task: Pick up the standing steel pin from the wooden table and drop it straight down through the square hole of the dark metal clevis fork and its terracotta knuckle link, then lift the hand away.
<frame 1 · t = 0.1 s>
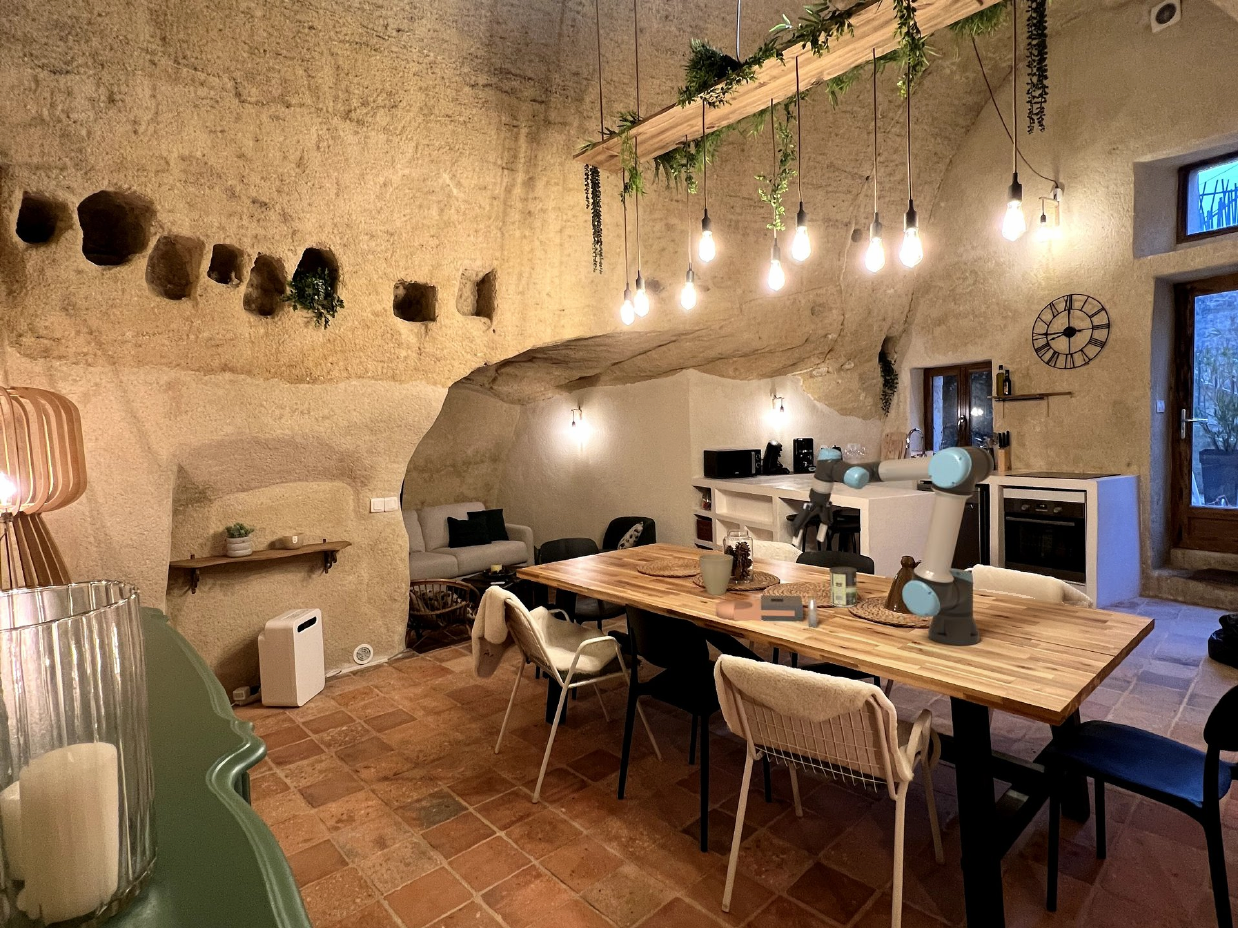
hand: (807, 542, 259), 28 cm above the table, tool tilted 20°, fingers open, 13 cm apart
knuckle link: (777, 615, 261), on the table
clevis fork: (781, 608, 261), in the knuckle link
coffee can: (843, 604, 275), on the table
steel pin: (812, 626, 246), on the table
plant pot: (716, 593, 300), on the table
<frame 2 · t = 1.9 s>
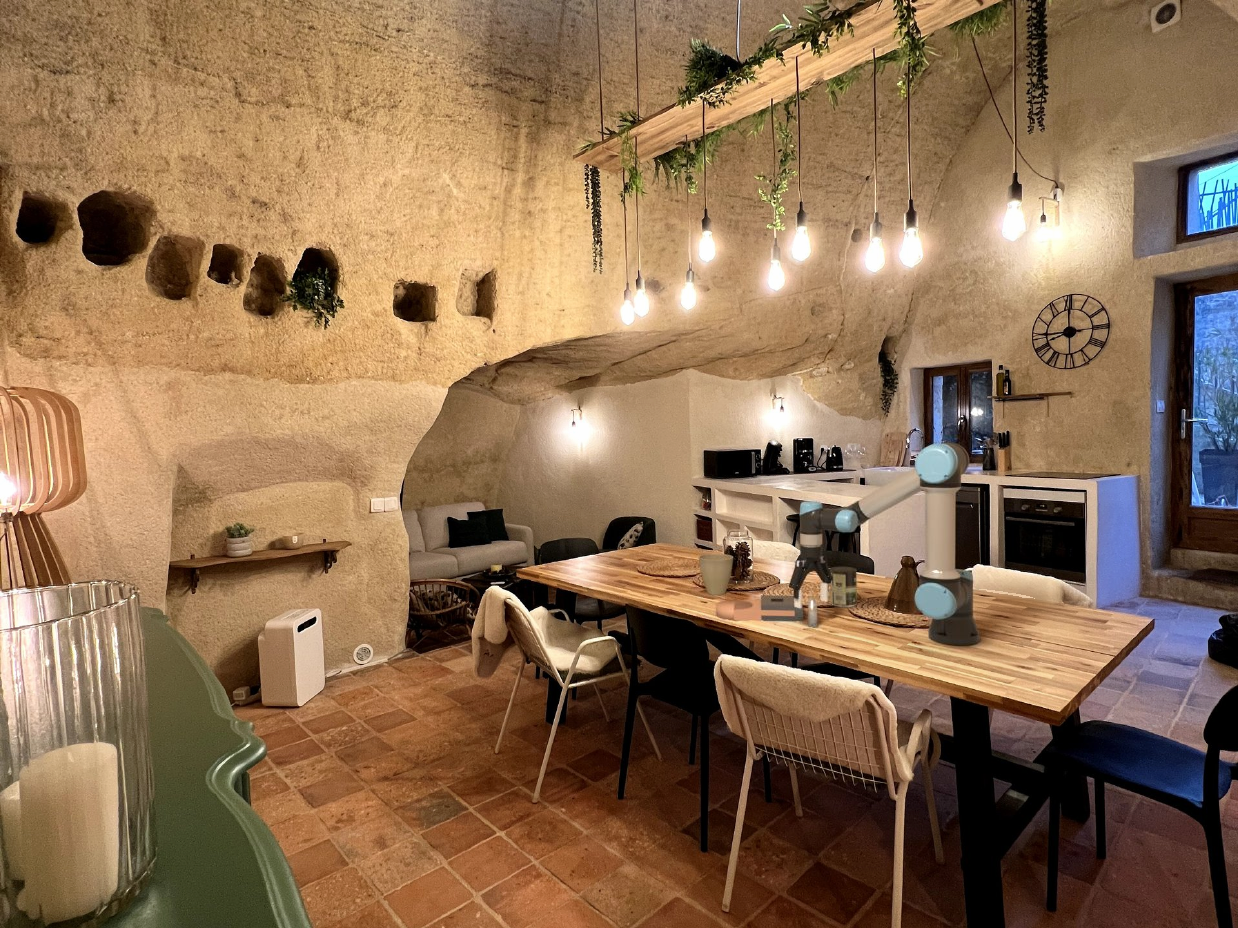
hand: (811, 604, 246), 8 cm above the table, tool pointing down, fingers open, 13 cm apart
nothing on the table moved.
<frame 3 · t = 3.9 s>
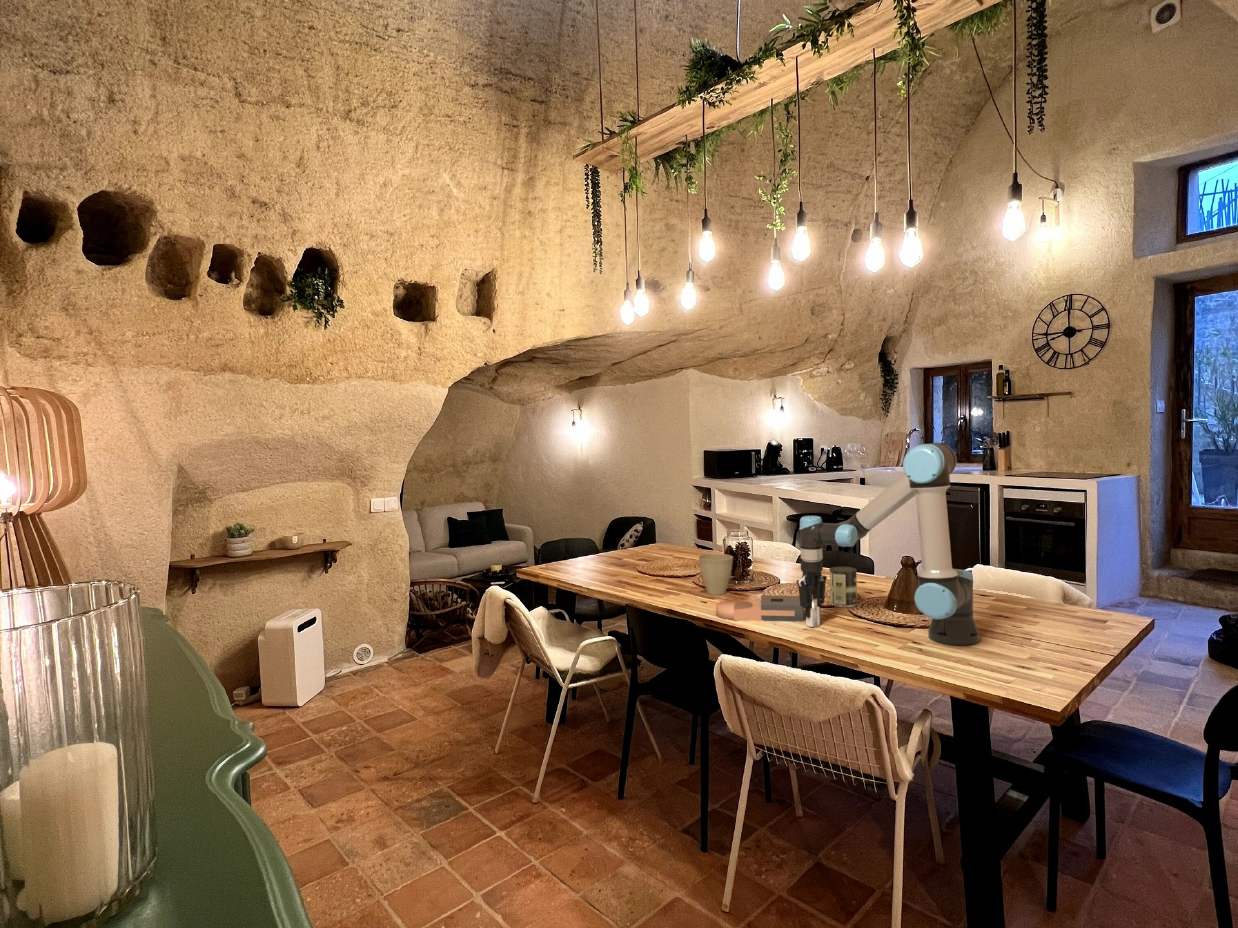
hand: (812, 624, 246), 1 cm above the table, tool pointing down, fingers closed on steel pin, 2 cm apart
steel pin: (813, 626, 246), on the table, touching gripper
everything else where it was.
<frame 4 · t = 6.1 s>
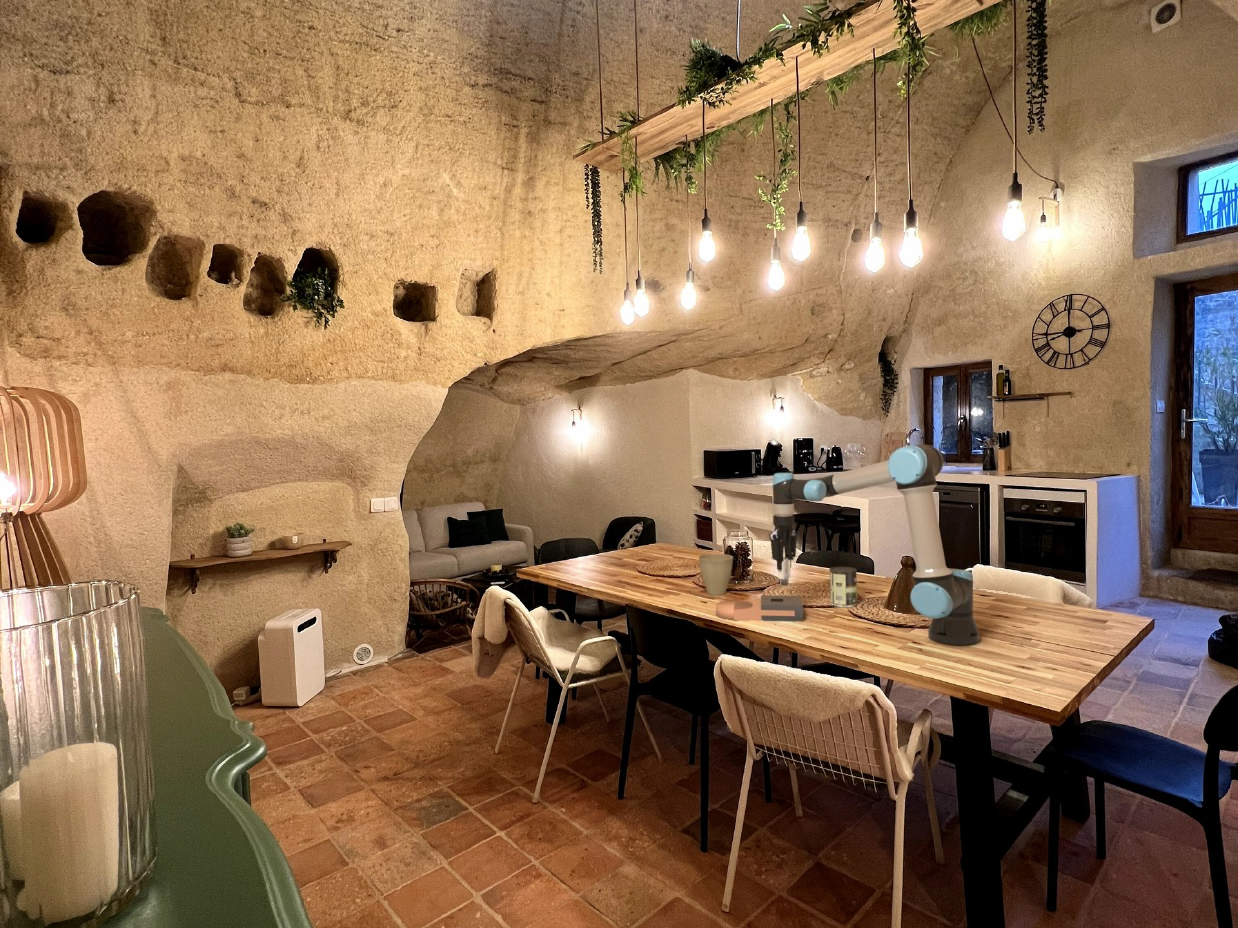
hand: (784, 577, 257), 15 cm above the table, tool pointing down, fingers closed on steel pin, 2 cm apart
steel pin: (784, 584, 257), point 13 cm above the table, touching gripper
everything else where it was.
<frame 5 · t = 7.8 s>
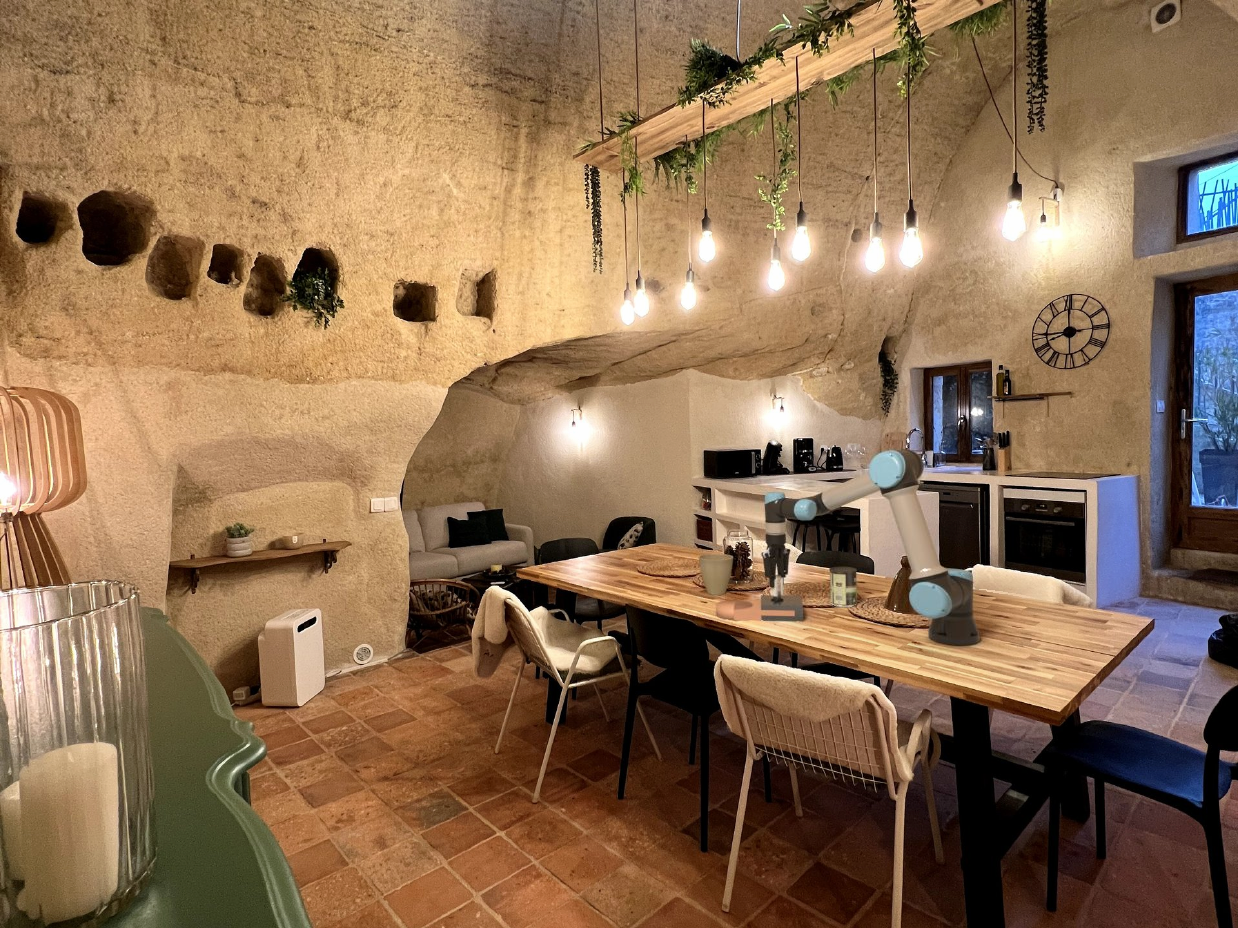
hand: (777, 594, 261), 8 cm above the table, tool pointing down, fingers closed on steel pin, 2 cm apart
steel pin: (777, 601, 261), point 5 cm above the table, touching gripper
everything else where it was.
when the fingers open (8 cm above the table, at t = 8.7 s): steel pin drops 6 cm, resting in clevis fork.
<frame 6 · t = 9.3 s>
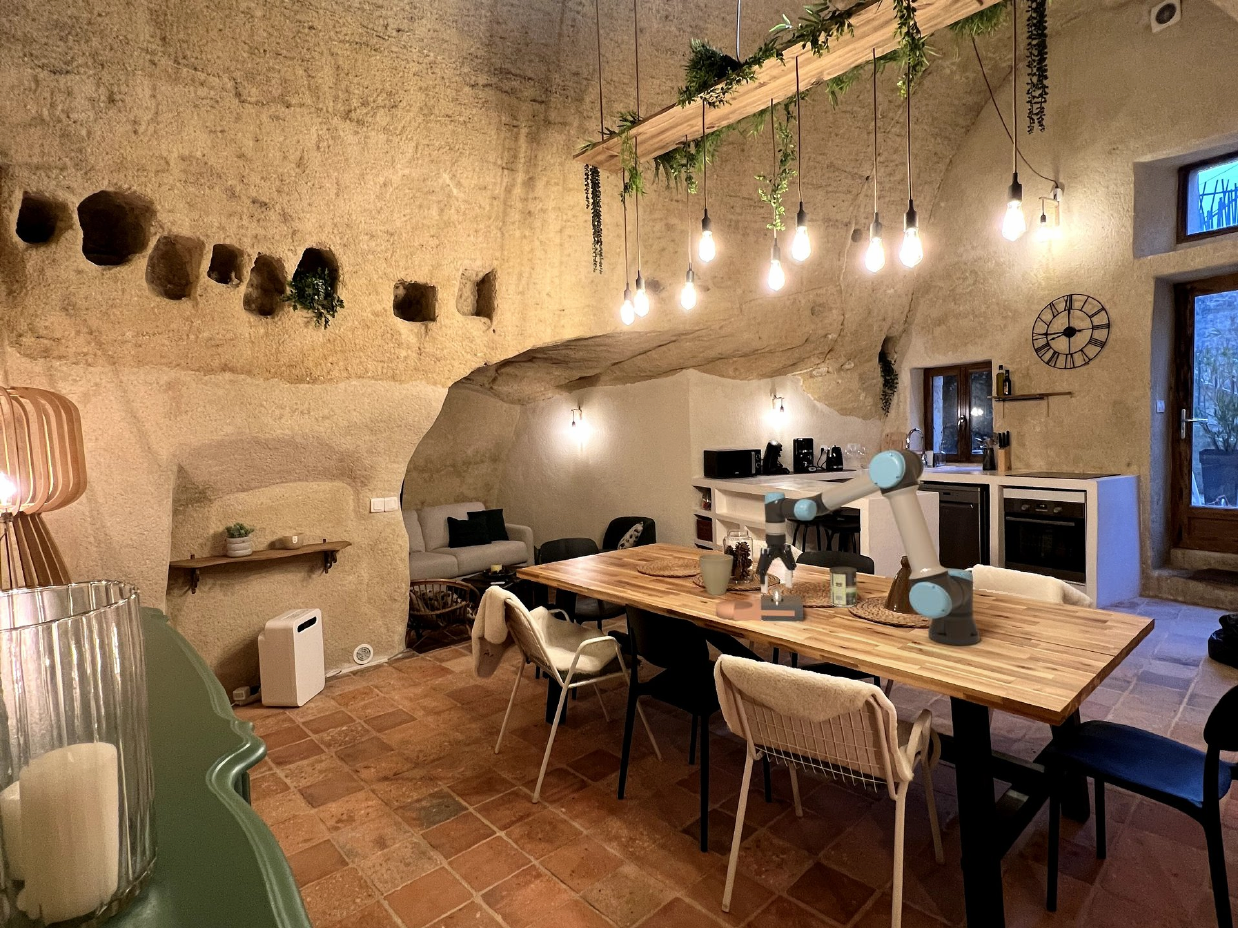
hand: (776, 589, 261), 10 cm above the table, tool pointing down, fingers open, 12 cm apart
steel pin: (777, 615, 261), resting in clevis fork
everything else where it was.
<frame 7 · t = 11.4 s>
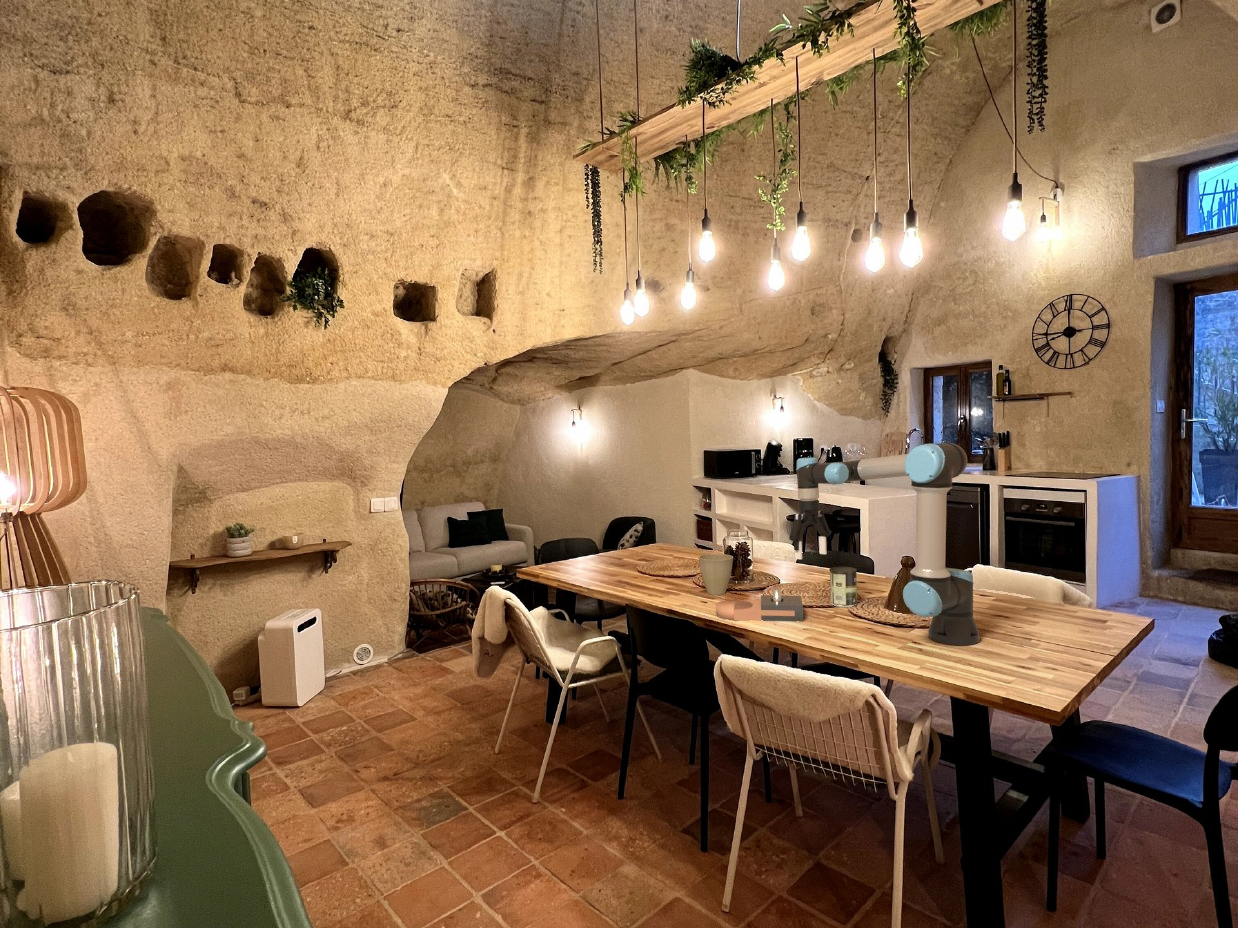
hand: (811, 556, 256), 23 cm above the table, tool pointing down, fingers open, 13 cm apart
nothing on the table moved.
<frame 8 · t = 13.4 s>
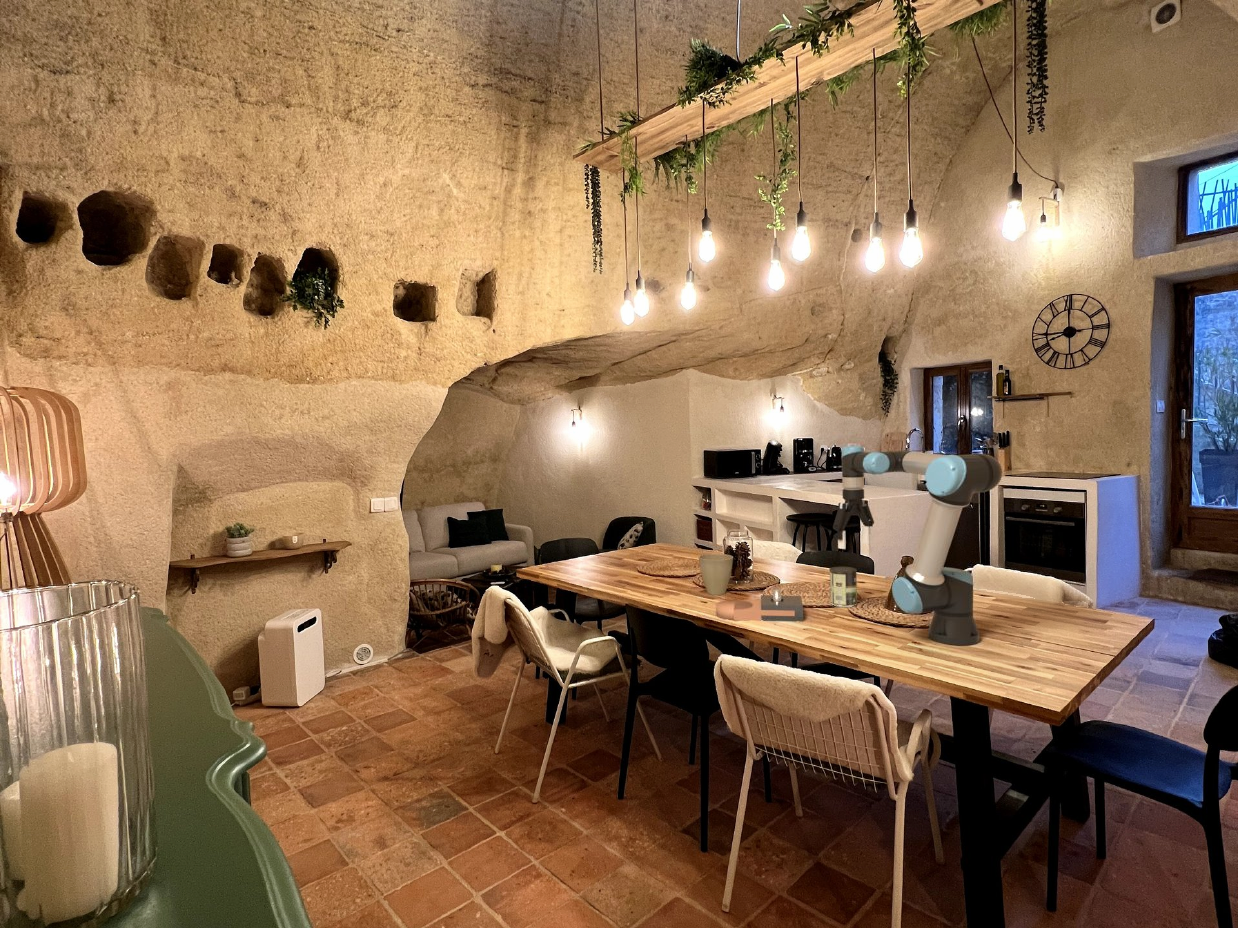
hand: (854, 546, 253), 27 cm above the table, tool pointing down, fingers open, 13 cm apart
nothing on the table moved.
at the end: steel pin 0.0 cm off-centre on the clevis fork, point 0.0 cm above the clevis fork's base; steel pin tilted 0°; the gripper is holding nothing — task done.
